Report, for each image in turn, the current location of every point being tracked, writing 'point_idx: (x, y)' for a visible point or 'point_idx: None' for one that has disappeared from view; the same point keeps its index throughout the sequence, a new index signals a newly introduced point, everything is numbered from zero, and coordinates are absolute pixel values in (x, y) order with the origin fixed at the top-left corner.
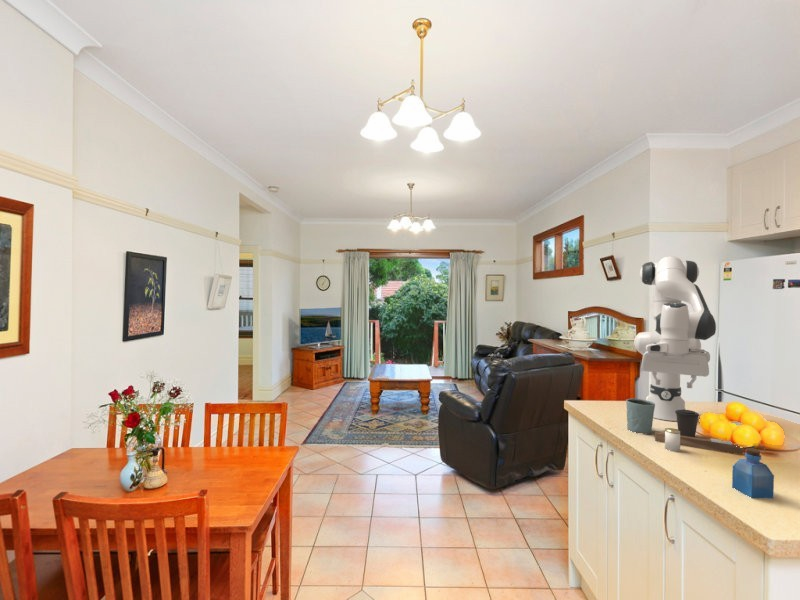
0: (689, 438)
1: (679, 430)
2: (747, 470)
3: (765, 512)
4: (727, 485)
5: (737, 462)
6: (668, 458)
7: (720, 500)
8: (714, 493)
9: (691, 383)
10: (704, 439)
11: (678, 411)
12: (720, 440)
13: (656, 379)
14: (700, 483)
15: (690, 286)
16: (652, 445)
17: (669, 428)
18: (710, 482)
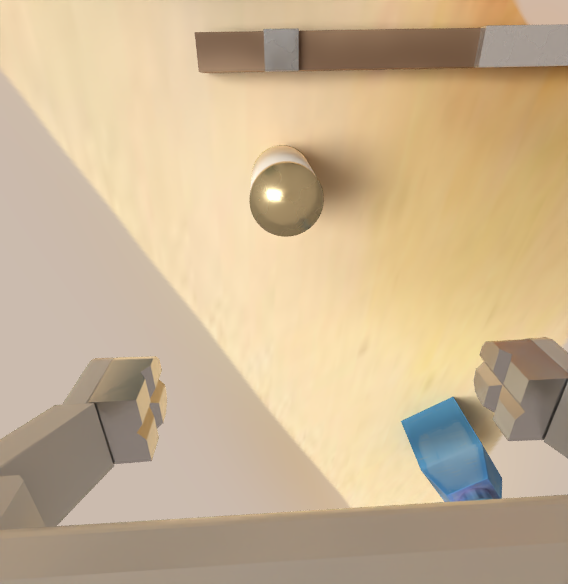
0: (372, 68)
1: (321, 188)
2: (444, 498)
3: (423, 493)
4: (394, 414)
5: (436, 485)
6: (264, 300)
7: (356, 488)
8: (352, 466)
9: (556, 439)
10: (450, 40)
11: None
12: (528, 45)
13: (91, 475)
14: (333, 434)
15: None
16: (200, 166)
17: (271, 178)
18: (357, 418)
